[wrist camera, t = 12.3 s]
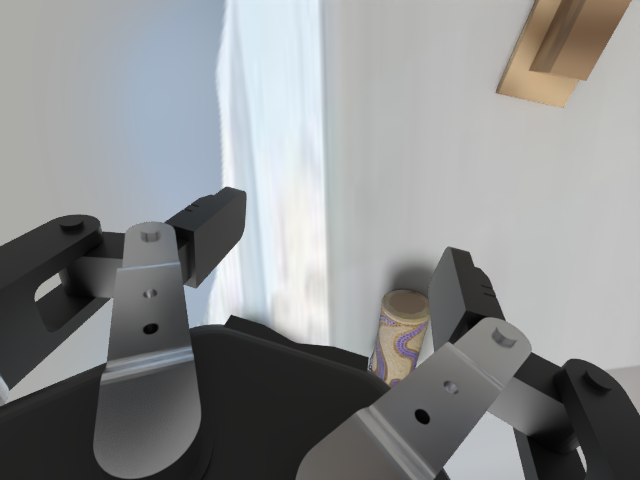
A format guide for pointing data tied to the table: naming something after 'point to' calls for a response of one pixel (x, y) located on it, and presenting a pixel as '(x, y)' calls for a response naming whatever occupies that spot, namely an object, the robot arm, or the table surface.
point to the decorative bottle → (399, 335)
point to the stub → (559, 48)
